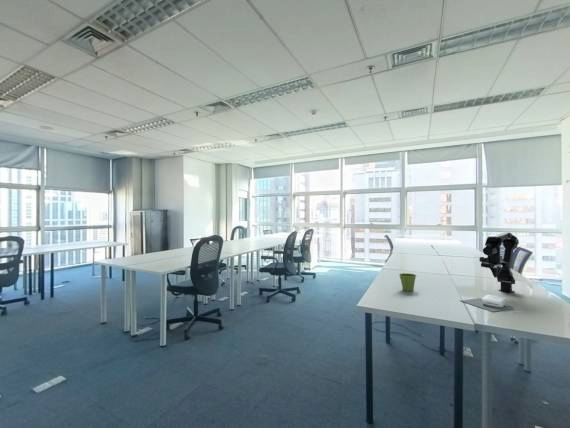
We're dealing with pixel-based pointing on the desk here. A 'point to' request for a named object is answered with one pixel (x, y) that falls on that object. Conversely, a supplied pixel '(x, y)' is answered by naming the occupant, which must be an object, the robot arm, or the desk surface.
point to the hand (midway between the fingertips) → (495, 277)
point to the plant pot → (407, 281)
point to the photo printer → (494, 301)
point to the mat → (478, 303)
